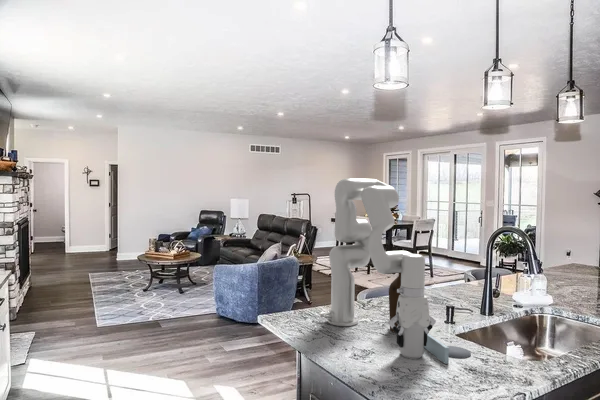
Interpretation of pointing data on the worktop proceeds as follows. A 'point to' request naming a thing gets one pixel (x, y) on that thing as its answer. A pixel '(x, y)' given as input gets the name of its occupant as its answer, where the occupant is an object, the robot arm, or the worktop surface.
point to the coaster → (458, 352)
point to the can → (413, 341)
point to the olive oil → (394, 298)
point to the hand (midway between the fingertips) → (411, 345)
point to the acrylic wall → (437, 348)
